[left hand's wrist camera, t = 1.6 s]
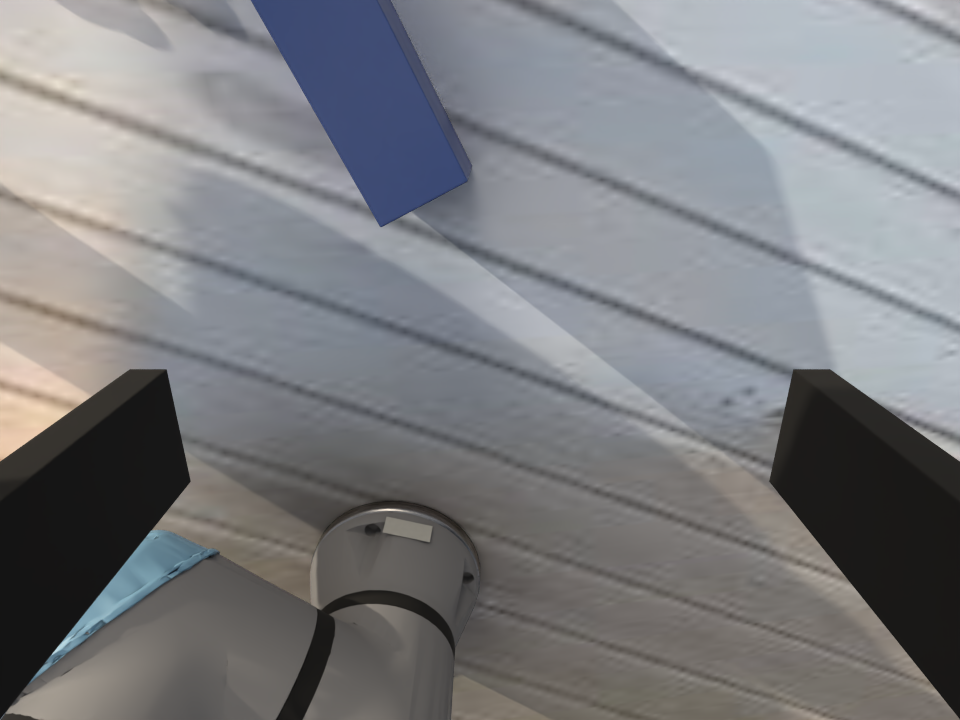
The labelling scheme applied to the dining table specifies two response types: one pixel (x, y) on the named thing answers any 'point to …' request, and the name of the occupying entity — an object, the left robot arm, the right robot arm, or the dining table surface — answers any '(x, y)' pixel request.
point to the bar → (370, 99)
